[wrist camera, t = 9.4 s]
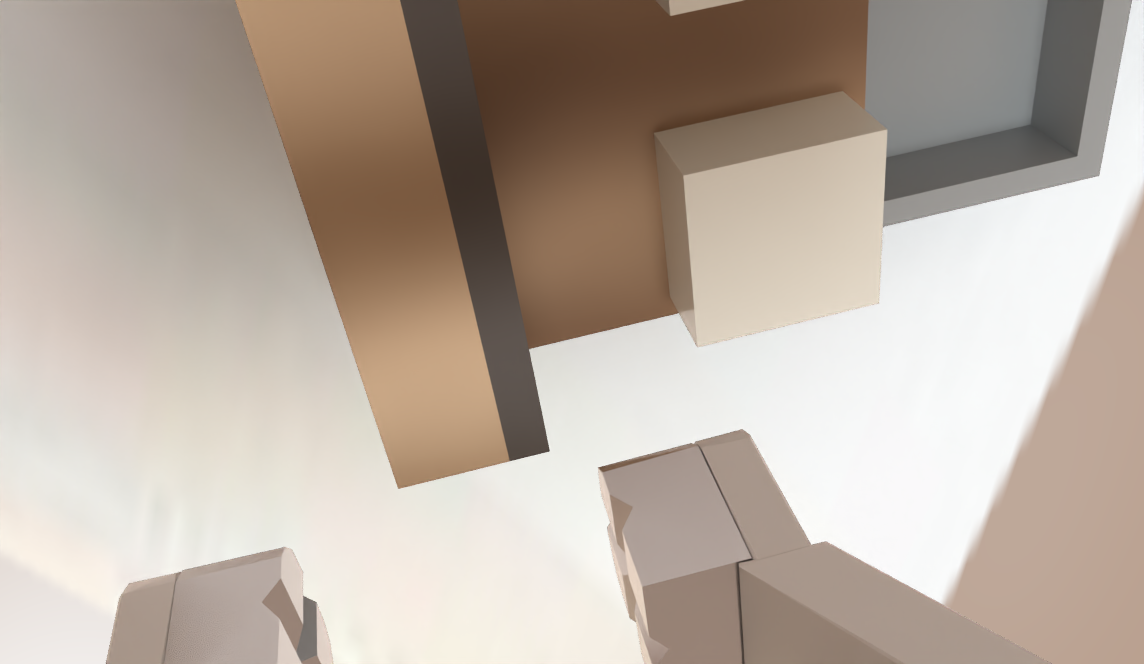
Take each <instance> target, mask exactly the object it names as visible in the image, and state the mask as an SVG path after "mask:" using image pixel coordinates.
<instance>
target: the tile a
mask: <svg viewBox="0 0 1144 664" xmlns="http://www.w3.org/2000/svg"><path fill="white" fill-rule="evenodd" d="M656 1H657V2H658V4H659V5H660V6H661V7H662V8H663V9H664V10H665V11H666V12H667V13H668V14H669V15H670V16H673V15H677V14H682V13H687V12H691V11H696V10H701V9H706V8H710V7H715V6H720V5H725V4H729V3H734V2H739V1H743V0H656Z"/></svg>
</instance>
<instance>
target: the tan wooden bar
mask: <svg viewBox="0 0 1144 664" xmlns="http://www.w3.org/2000/svg"><path fill="white" fill-rule="evenodd" d="M235 1H236V4H237V7H238V10H239V13H240V16H241V19H242V22H243V25H244V28H245V31H246V34H247V37H248V40H249V43H250V46H251V49H252V52H253V55H254V58H255V61H256V64H257V67H258V70H259V73H260V76H261V79H262V82H263V85H264V88H265V91H266V94H267V97H268V100H269V103H270V106H271V109H272V112H273V115H274V118H275V121H276V124H277V127H278V130H279V133H280V136H281V139H282V142H283V145H284V148H285V151H286V154H287V157H288V160H289V163H290V166H291V169H292V172H293V175H294V178H295V181H296V184H297V187H298V190H299V193H300V196H301V199H302V202H303V205H304V208H305V211H306V214H307V217H308V220H309V223H310V226H311V229H312V232H313V235H314V238H315V241H316V244H317V247H318V250H319V253H320V256H321V259H322V262H323V265H324V268H325V271H326V274H327V277H328V280H329V283H330V286H331V289H332V292H333V295H334V298H335V301H336V304H337V307H338V310H339V313H340V316H341V319H342V322H343V325H344V328H345V331H346V334H347V337H348V340H349V343H350V346H351V349H352V352H353V355H354V358H355V361H356V364H357V367H358V370H359V373H360V376H361V379H362V382H363V385H364V388H365V391H366V394H367V397H368V400H369V403H370V406H371V409H372V412H373V415H374V418H375V421H376V424H377V427H378V430H379V433H380V436H381V439H382V441H383V444H384V447H385V450H386V453H387V456H388V459H389V462H390V465H391V468H392V471H393V474H394V477H395V480H396V483H397V486H398V489H400V488H404V487H408V486H412V485H416V484H420V483H424V482H428V481H432V480H436V479H440V478H444V477H448V476H452V475H456V474H460V473H464V472H468V471H472V470H476V469H480V468H484V467H488V466H492V465H496V464H500V463H504V462H508V461H512V460H516V459H520V458H524V457H528V456H533V455H537V454H541V453H545V452H549V451H550V450H549V445H548V441H547V436H546V431H545V426H544V421H543V416H542V411H541V406H540V402H539V397H538V392H537V387H536V382H535V377H534V372H533V367H532V362H531V358H530V353H529V348H528V343H527V338H526V333H525V328H524V323H523V318H522V314H521V309H520V304H519V299H518V294H517V289H516V284H515V279H514V275H513V270H512V265H511V260H510V255H509V250H508V245H507V240H506V235H505V231H504V226H503V221H502V216H501V211H500V206H499V201H498V196H497V191H496V187H495V182H494V177H493V172H492V167H491V162H490V157H489V152H488V147H487V143H486V138H485V133H484V128H483V123H482V118H481V113H480V108H479V104H478V99H477V94H476V89H475V84H474V79H473V74H472V69H471V64H470V60H469V55H468V50H467V45H466V40H465V35H464V30H463V25H462V20H461V16H460V11H459V6H458V1H457V0H235Z"/></svg>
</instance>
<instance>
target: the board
mask: <svg viewBox="0 0 1144 664" xmlns="http://www.w3.org/2000/svg"><path fill="white" fill-rule="evenodd" d="M457 1H458V6H459V11H460V16H461V20H462V25H463V30H464V35H465V40H466V45H467V50H468V55H469V60H470V64H471V69H472V74H473V79H474V84H475V89H476V94H477V99H478V104H479V108H480V113H481V118H482V123H483V128H484V133H485V138H486V143H487V147H488V152H489V157H490V162H491V167H492V172H493V177H494V182H495V187H496V191H497V196H498V201H499V206H500V211H501V216H502V221H503V226H504V231H505V235H506V240H507V245H508V250H509V255H510V260H511V265H512V270H513V275H514V279H515V284H516V289H517V294H518V299H519V304H520V309H521V314H522V318H523V323H524V328H525V333H526V338H527V343H528V348H529V349H531V348H535V347H539V346H543V345H547V344H552V343H556V342H560V341H564V340H568V339H573V338H577V337H581V336H585V335H589V334H593V333H598V332H602V331H606V330H610V329H614V328H619V327H623V326H627V325H631V324H635V323H639V322H644V321H648V320H652V319H656V318H660V317H664V316H669V315H673V314H677V313H679V312H678V311H677V309H676V307H675V305H674V303H673V301H672V299H671V298H670V292H669V282H668V272H667V261H666V251H665V241H664V231H663V221H662V211H661V200H660V190H659V180H658V170H657V160H656V149H655V139H654V133H656V132H660V131H665V130H669V129H674V128H678V127H683V126H687V125H692V124H696V123H701V122H705V121H710V120H714V119H719V118H723V117H728V116H732V115H737V114H741V113H746V112H750V111H755V110H759V109H764V108H768V107H773V106H777V105H782V104H786V103H791V102H795V101H800V100H804V99H809V98H813V97H818V96H822V95H827V94H831V93H836V92H840V91H843V92H844V93H846V94H847V95H848V96H849V97H850V98H851V99H853V100H854V101H855V102H856V103H857V104H858V105H860V106H861V107H862V108H863V109H864V110H865V92H866V63H867V33H868V4H869V0H743V1H739V2H734V3H729V4H725V5H720V6H715V7H710V8H706V9H701V10H696V11H691V12H687V13H682V14H677V15H673V16H670V15H669V14H668V13H667V12H666V11H665V10H664V9H663V8H662V7H661V6H660V5H659V4H658V2H657V1H656V0H457Z"/></svg>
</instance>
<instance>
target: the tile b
mask: <svg viewBox="0 0 1144 664" xmlns="http://www.w3.org/2000/svg"><path fill="white" fill-rule="evenodd" d="M654 139H655V149H656V160H657V170H658V180H659V190H660V200H661V211H662V221H663V231H664V241H665V251H666V261H667V272H668V282H669V292H670V298H671V299H672V301H673V303H674V305H675V307H676V309H677V311H678V312H679V314H680V316H681V318H682V320H683V322H684V324H685V325H686V327H687V329H688V331H689V333H690V335H691V336H692V338H693V340H694V342H695V344H696V346H697V347H701V346H705V345H709V344H713V343H717V342H721V341H725V340H730V339H734V338H738V337H742V336H746V335H750V334H754V333H758V332H763V331H767V330H771V329H775V328H779V327H783V326H787V325H791V324H796V323H800V322H804V321H808V320H812V319H816V318H820V317H824V316H828V315H833V314H837V313H841V312H845V311H849V310H853V309H857V308H861V307H866V306H870V305H874V304H878V303H879V292H880V271H881V251H882V231H883V210H884V190H885V169H886V149H887V129H886V128H885V127H884V126H883V125H882V124H880V123H879V122H878V121H877V120H876V119H875V118H873V117H872V116H871V115H870V114H869V113H868V112H866V111H865V110H864V109H863V108H862V107H861V106H860V105H858V104H857V103H856V102H855V101H854V100H853V99H851V98H850V97H849V96H848V95H847V94H846V93H844V92H843V91H840V92H836V93H831V94H827V95H822V96H818V97H813V98H809V99H804V100H800V101H795V102H791V103H786V104H782V105H777V106H773V107H768V108H764V109H759V110H755V111H750V112H746V113H741V114H737V115H732V116H728V117H723V118H719V119H714V120H710V121H705V122H701V123H696V124H692V125H687V126H683V127H678V128H674V129H669V130H665V131H660V132H656V133H654Z"/></svg>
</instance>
